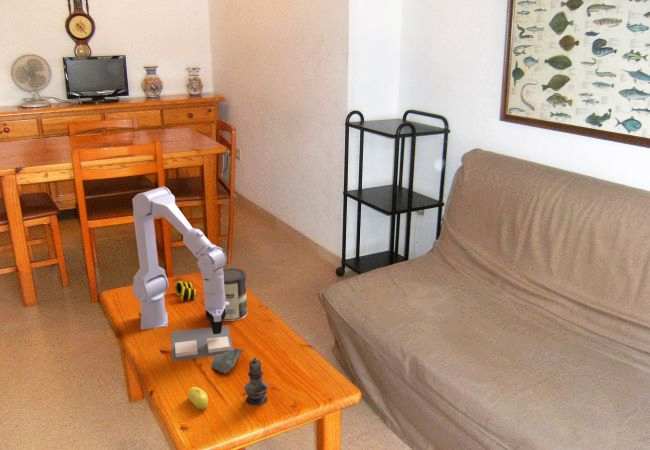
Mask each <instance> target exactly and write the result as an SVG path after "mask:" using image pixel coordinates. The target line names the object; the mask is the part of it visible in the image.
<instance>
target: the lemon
mask: <svg viewBox="0 0 650 450" xmlns="http://www.w3.org/2000/svg"><path fill="white" fill-rule="evenodd" d="M188 399H189V401H190V403H192V404H193V405H194V406H195V407H196V408H197V409H198V410H205V409H207V407H208V405H209V404H208V403H209V396H208V394H207V392H205V390H203V389H201V388H200V387H197V386H192V387H190V389H189V390H188Z"/></svg>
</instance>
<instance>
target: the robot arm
mask: <svg viewBox="0 0 650 450" xmlns="http://www.w3.org/2000/svg"><path fill="white" fill-rule="evenodd" d="M131 201H132V209H133V211H132V213H133V214H132V215H133V222H134V223H133V224H134V230H135V231H134V232H135V240H136V248H137V254H138V263H139V264H138V265H139V269H138V271H137V272H136V273H135V274H134V276H133V277H132V278H133V284H132V293H133V295H134V297H135V298H136V299H137V300H138V301H139V305H140V314H141V318H140V329H141V330H147V329H157V328H166V327H168V326H169V325H168V324H169V322H168V312H166V304H165V295H166V292H167V290H168V289H169V280H168V277H167V275H166V270H165V269H164V268H162V267H160V266H159V259H158V252H157V251H158V250H157V241H156V232H155V231H156V230H155V223H154V222H155V221H154V218H155V217H157V218H165V219H166V220H167V221H168V223H170V224H171V225H172V226H173V227H174V228H175V229H176V231H178V232H179V233H180V234H181V235H182V237H183V240H182V242H183V244H184V245H185V247H187V248H188V249H189V251H190V252H191V253H192V254H193V255H194V257H195V258H196V259H197V261H196V263H197V266H198V269H199V270H200V274H201V276H200V277H202V282H203V283H202V284H203V293H204V294H203V295H204V305H203V306H204V309H205V310H204V311H205V316H206V318H207V320H208V322H209V324H210V327H212V331H213V334H220V333H221V330H222V326H223V322H224V318H225V316H226V311H225V307H227V306H230V305H229V302H228V301H226V302H225V290H224V273H223V269H224V266H225V265H226V264H227V263H228V257H227V254H226V251H224V249H223V248H222V247H220V246H217V245H216V244H213V243H212V242H211V240H210V239H208V238H207V237H206V235H205V234H204V233H203V231H202V230H201V229H199V228H194V227H192V225H191V224H190V222H189V221H188V219H187V218H186V217H185V216H184V214H183V213H182V211H181V210H180V208H179V207H178V206H177V204H176V197H175V195H174V194H173V193H172V192H171V190H170V189H169V188H168V187H166V186H159V187H158V188H153V189H151V190H148V191H145V192H144V191H143V192H140V193H137V194H136V195H135V196H133V198H132V199H131Z"/></svg>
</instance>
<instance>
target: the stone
mask: <svg viewBox="0 0 650 450" xmlns="http://www.w3.org/2000/svg"><path fill="white" fill-rule="evenodd" d="M243 352H244V349H243V348H233V350H231V351H228V352H225V353H222V354H218V355H216V356H212V357H213V358H212V361H211V363H210V367H211V368H212V369H213V370H215V371H218V372H219V373H221V374H224V376H225V375H226V374H228V372H229V371H231V370H233V367H234V366H235V365H236V363H237V361H238V359H239V357H240V356H241V354H242V353H243Z"/></svg>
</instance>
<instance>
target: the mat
mask: <svg viewBox="0 0 650 450" xmlns="http://www.w3.org/2000/svg"><path fill="white" fill-rule="evenodd" d="M170 334H171V337H170V338H171V359H172V362H178V361H185V360H192V359H198V358H199V359H200V358H207V357H214V356H216V355H218V354H222V353H225V352H222V353H214V354H209V353H208V346H207V339H210V338H218V337H226V336H228V340H229V345H230V351H231V350H233V349H234V347H233V342H232V339H231V338H232V337H231V334H230V329H229V325H228V324H227V325H222V330H221V333H220V334H213V331H212V327H211V326H210V327H201V328H194V329H185V330H176V331H171V332H170ZM194 340H196V342H197V351H198V356H191V357H184V358H176V354H175V343H178V342H186V341H194Z"/></svg>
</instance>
